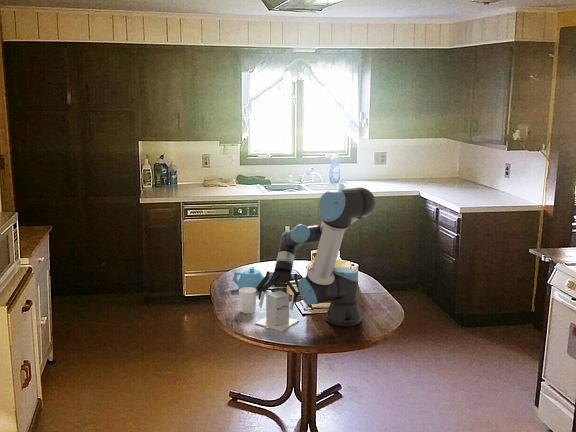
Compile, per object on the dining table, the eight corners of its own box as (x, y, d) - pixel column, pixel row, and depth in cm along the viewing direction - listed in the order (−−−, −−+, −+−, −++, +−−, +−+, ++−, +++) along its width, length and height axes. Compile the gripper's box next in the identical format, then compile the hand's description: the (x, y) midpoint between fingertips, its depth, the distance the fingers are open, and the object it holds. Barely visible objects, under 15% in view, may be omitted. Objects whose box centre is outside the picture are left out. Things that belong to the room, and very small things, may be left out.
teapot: (254, 281, 320) (253, 261, 317) (273, 289, 309) (273, 268, 307) (230, 288, 309) (230, 268, 307) (250, 296, 299) (249, 275, 296)
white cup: (254, 314, 276) (253, 293, 273) (237, 313, 277) (236, 292, 275) (258, 308, 283) (258, 287, 281) (241, 307, 285) (241, 286, 282)
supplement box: (275, 326, 261) (275, 298, 258) (265, 320, 267) (265, 293, 264) (289, 322, 265) (289, 294, 263) (279, 317, 271) (279, 289, 269)
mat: (298, 321, 268) (299, 320, 268) (281, 331, 257) (281, 330, 257) (272, 314, 275) (272, 313, 275) (255, 324, 265) (254, 322, 265)
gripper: (313, 270, 274) (305, 314, 263) (259, 265, 279) (249, 308, 269) (310, 261, 267) (302, 306, 256) (255, 257, 273) (245, 301, 262)
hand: (275, 308), depth 262 cm, fingers open, 13 cm apart
